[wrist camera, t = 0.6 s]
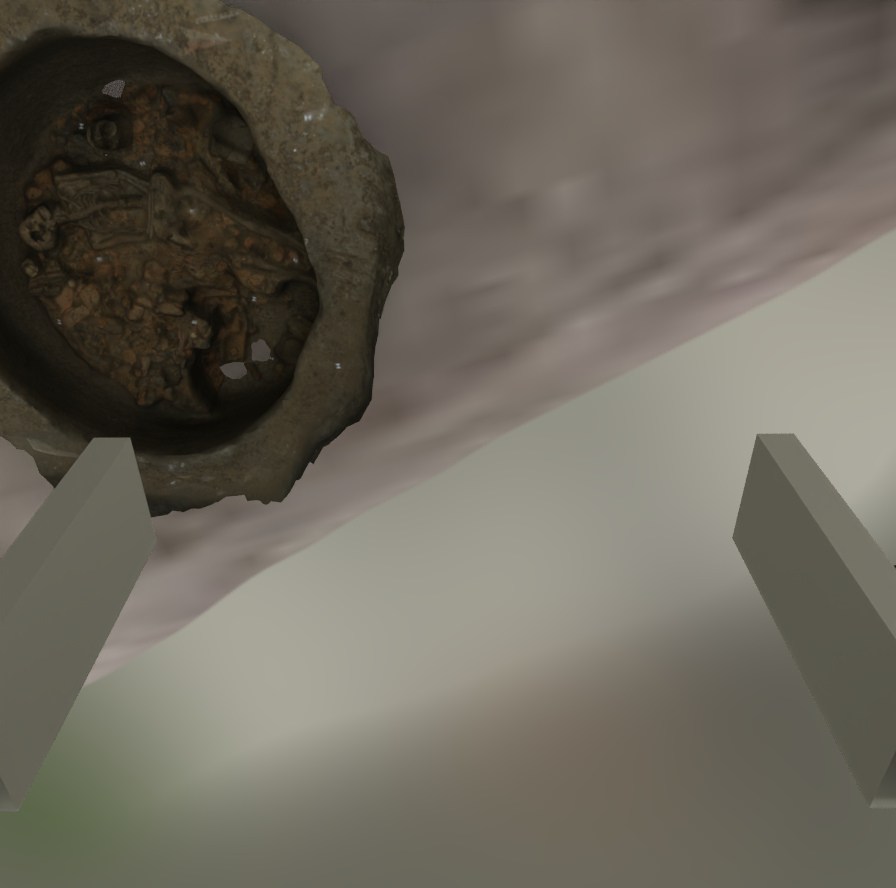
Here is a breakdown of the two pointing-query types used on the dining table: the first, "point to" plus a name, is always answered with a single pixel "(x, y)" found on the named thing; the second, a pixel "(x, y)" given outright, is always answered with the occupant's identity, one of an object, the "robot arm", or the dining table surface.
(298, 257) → the stone bowl
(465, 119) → the dining table surface
